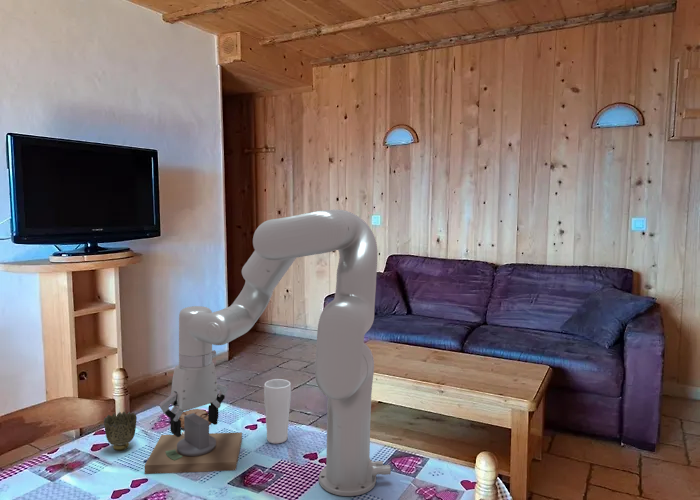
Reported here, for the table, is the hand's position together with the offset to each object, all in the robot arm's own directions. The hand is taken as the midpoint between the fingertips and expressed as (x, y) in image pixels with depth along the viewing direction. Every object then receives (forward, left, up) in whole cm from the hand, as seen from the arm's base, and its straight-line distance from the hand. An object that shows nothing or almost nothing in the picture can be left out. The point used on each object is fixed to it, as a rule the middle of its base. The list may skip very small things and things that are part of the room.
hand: (195, 428), depth 122 cm
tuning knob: (0, -1, -5) cm, 5 cm away
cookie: (+4, -19, -7) cm, 21 cm away
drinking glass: (-19, -7, -7) cm, 22 cm away
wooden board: (0, 0, -7) cm, 7 cm away
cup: (+19, -5, -7) cm, 20 cm away
